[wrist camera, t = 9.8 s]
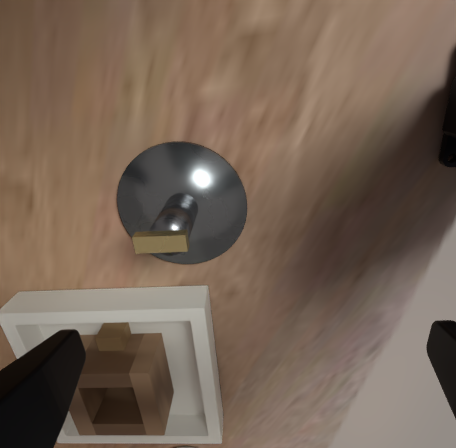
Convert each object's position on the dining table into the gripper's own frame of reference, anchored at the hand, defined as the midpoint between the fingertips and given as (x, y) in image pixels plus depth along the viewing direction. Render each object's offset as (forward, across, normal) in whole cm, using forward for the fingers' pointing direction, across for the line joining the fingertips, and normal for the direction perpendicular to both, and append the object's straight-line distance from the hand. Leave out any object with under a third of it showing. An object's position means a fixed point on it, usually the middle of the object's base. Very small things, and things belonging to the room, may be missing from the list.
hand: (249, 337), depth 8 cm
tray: (+12, +10, +14) cm, 21 cm away
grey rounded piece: (+12, +4, +1) cm, 13 cm away
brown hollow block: (+11, +10, +14) cm, 21 cm away
